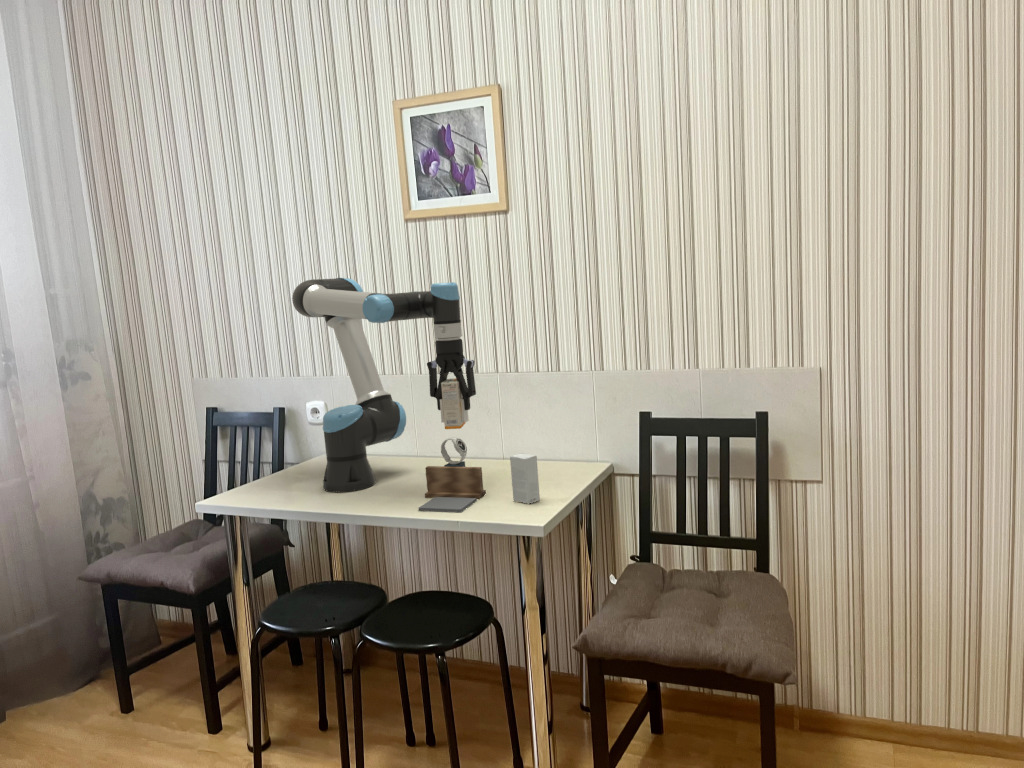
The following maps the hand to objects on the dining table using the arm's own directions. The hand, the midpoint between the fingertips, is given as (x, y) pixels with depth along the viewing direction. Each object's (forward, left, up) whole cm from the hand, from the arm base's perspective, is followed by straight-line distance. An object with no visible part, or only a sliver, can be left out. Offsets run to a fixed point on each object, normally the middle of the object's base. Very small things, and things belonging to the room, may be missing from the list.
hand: (454, 421), depth 214 cm
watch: (-9, +16, -19) cm, 27 cm away
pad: (+4, -17, -19) cm, 26 cm away
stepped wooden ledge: (+2, -8, -19) cm, 21 cm away
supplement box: (0, 0, -2) cm, 2 cm away
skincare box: (+23, -10, -19) cm, 32 cm away
